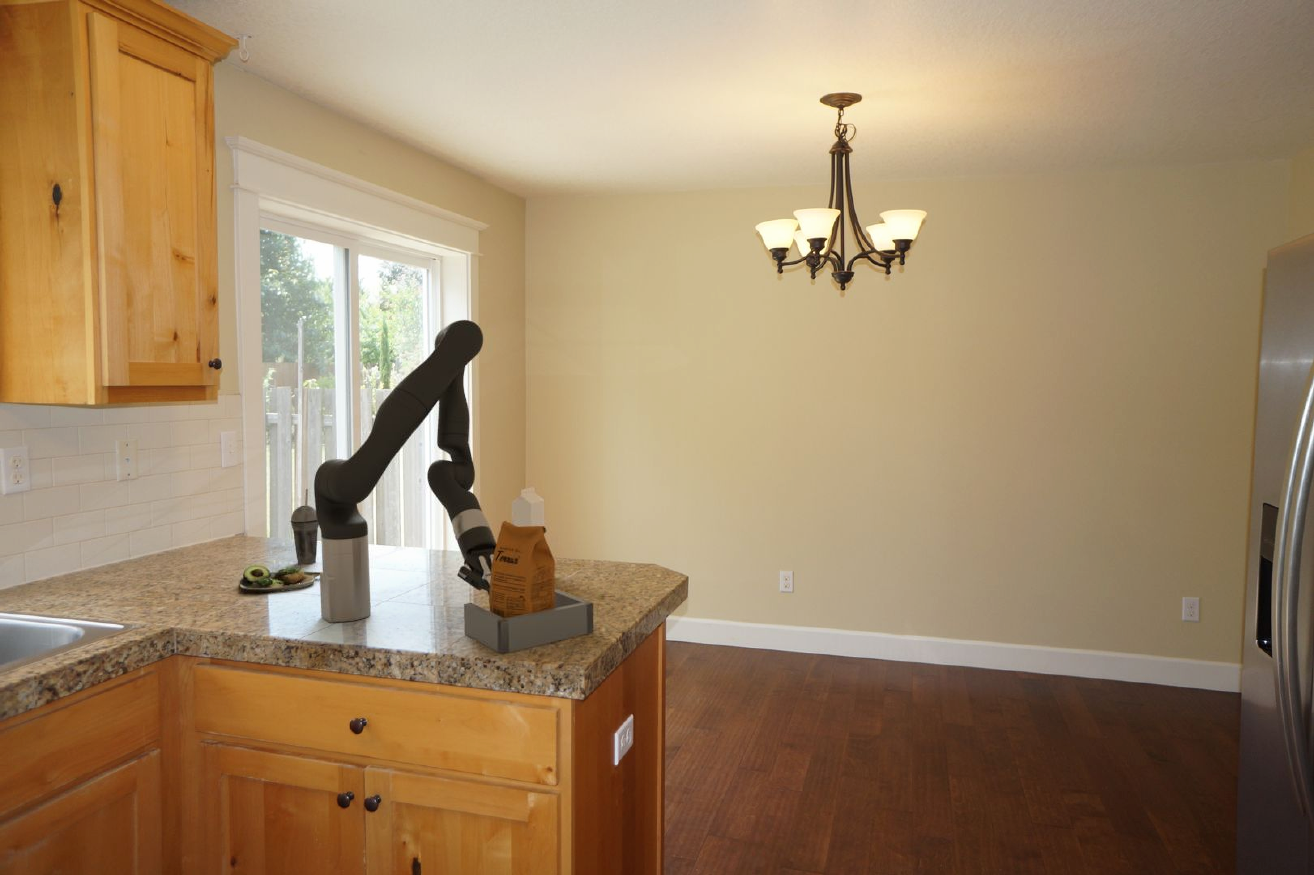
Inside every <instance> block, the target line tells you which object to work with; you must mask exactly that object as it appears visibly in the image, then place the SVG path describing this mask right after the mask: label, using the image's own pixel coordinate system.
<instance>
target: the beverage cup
mask: <svg viewBox="0 0 1314 875" xmlns="http://www.w3.org/2000/svg"><path fill="white" fill-rule="evenodd" d="M308 492H309V489H308V488H306V489H305V498H304V500H305V501H304V502H305V503H304V505H301V506H299V507H297V508H295V509H294V511H292V515H291V519H290V523H291V528H292V532H293V539H294V547H295V554H296V560H297V564H298V565H302V564H304V565H311V564H315V563H316V562H317V552H318V550H317V549H318V548H317V547H318V533H319V532H318V530H319V525H318V522H317V517H316V508H315V507H312V506H311V505H308V496H309V495H308V494H309V493H308Z"/></svg>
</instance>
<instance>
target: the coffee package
mask: <svg viewBox="0 0 1314 875" xmlns="http://www.w3.org/2000/svg"><path fill="white" fill-rule="evenodd" d="M499 530H500V531H499V533H498V536H497V541H496V544H497V545H496V548H495V552H494V557H493V561H492V567H491V581H490V594H489V595H488V602H489V611H490V612H492V613H494V614H496V615H498V616H500V617H502V618H509V617H514V616H519V615H524V614H529V613H534V612H539V611H544V610H549V609H554V608H555V607H554V604H555V593H554V592H555V589H556V580H555V579H556V578H555V572H556V571H555V570H556V569H555V568H556V567H555V566H556V564H555V563H556V562H555V558H554V556H553V554H552V551H551V549H550V546H549V544H548V543H547V539H546V535H545V536H544V533H545V534H546V533H547V528H546V527H544V526H522V527H517V526H515V525H513V524H512V522H508V521H506V520H504V521H502V523H501V526H500V529H499Z"/></svg>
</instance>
